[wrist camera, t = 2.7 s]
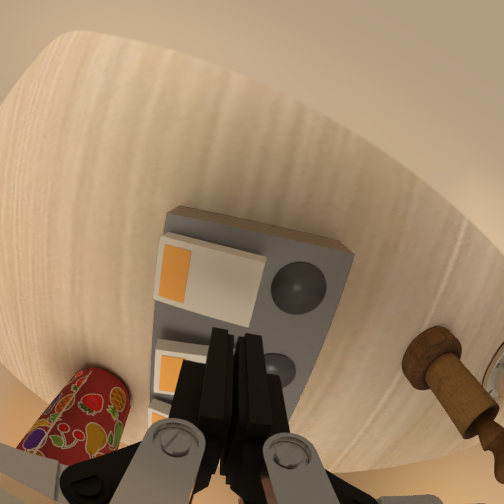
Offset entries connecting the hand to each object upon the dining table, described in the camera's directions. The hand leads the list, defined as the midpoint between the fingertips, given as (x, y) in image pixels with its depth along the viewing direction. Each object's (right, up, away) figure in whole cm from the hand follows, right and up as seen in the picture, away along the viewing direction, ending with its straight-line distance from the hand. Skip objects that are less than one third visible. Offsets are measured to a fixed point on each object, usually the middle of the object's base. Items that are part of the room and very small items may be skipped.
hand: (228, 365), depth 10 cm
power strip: (-1, -3, +14) cm, 14 cm away
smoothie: (-15, -10, +16) cm, 24 cm away
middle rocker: (-3, -4, +10) cm, 12 cm away
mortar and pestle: (+19, -7, +15) cm, 25 cm away
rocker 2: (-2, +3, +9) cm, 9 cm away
